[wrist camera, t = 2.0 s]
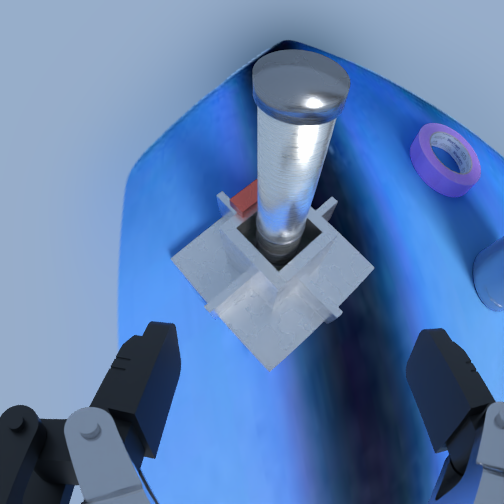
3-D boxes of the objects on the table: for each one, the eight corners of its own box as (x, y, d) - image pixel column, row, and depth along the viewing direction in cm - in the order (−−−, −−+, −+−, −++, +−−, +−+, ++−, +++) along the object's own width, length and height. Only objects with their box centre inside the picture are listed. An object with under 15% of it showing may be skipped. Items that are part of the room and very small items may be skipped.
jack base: (275, 177, 39) (281, 116, 28) (375, 272, 34) (418, 233, 24) (168, 262, 35) (134, 219, 24) (268, 378, 30) (274, 384, 20)
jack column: (275, 237, 34) (298, 41, 12) (301, 263, 32) (368, 82, 11) (247, 261, 33) (231, 70, 11) (273, 288, 32) (306, 118, 10)
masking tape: (462, 149, 42) (472, 136, 38) (474, 206, 38) (487, 193, 34) (405, 129, 43) (413, 113, 39) (412, 187, 39) (423, 171, 35)
